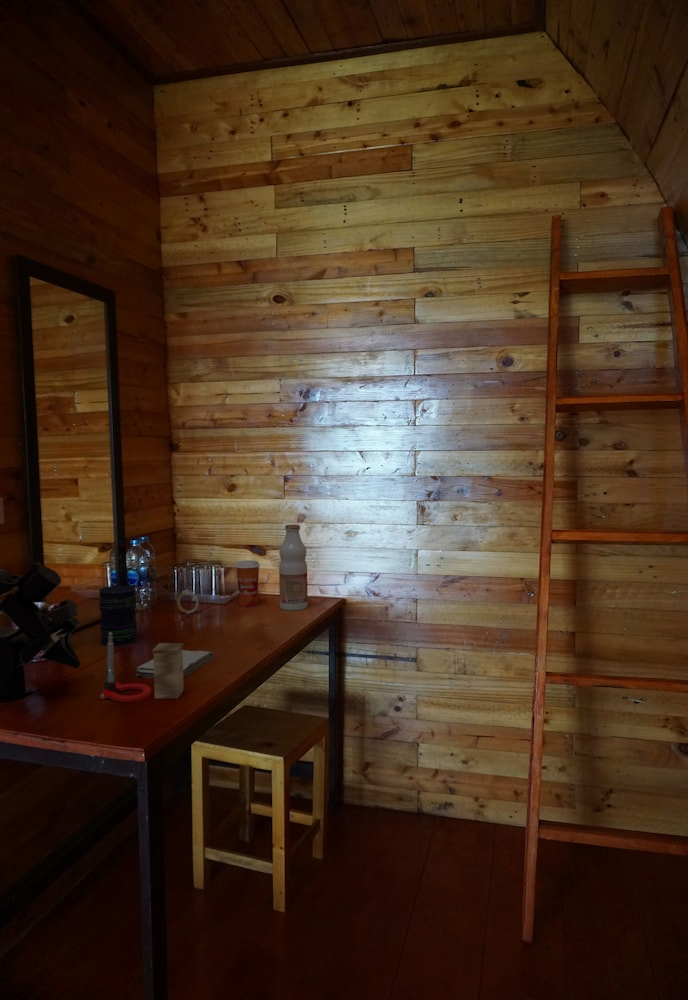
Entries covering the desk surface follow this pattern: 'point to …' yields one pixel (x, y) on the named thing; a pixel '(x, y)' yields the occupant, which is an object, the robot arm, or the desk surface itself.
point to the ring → (183, 595)
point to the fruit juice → (293, 571)
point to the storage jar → (118, 615)
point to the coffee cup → (248, 582)
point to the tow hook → (113, 686)
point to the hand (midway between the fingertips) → (79, 666)
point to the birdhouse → (168, 670)
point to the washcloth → (190, 663)
